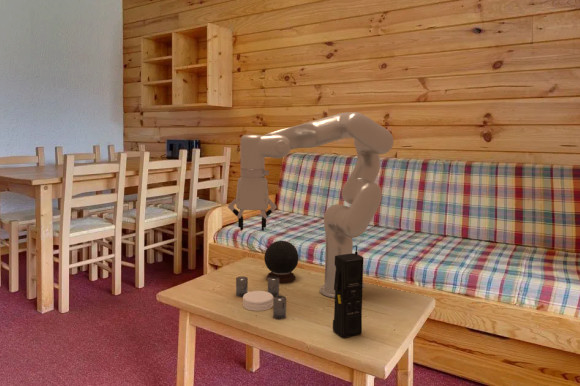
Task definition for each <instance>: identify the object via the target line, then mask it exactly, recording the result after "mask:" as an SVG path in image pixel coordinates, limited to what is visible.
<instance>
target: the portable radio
mask: <svg viewBox="0 0 580 386" xmlns="http://www.w3.org/2000/svg"><path fill="white" fill-rule="evenodd" d="M335 267H336V271H335V282H334V290H335V298H334V307H333V308H334V309H333V311H334V314H333V319H332V330H333V332H334V333H335V334H336V335H338V336H339V337H340V338H343V339H344V338H348V337H352V336H356V335H361V334H362V332H363V331H362V330H363V326H362V325H363V321H362V320H363V319H362V316H363V288H362V286H363V283H364V280H363V277H364V256H362V255H360V254H359V253H358V246H357V245H355V252H354V253H353V252H352V253H351V254H344V255H337V256H335Z"/></svg>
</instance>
